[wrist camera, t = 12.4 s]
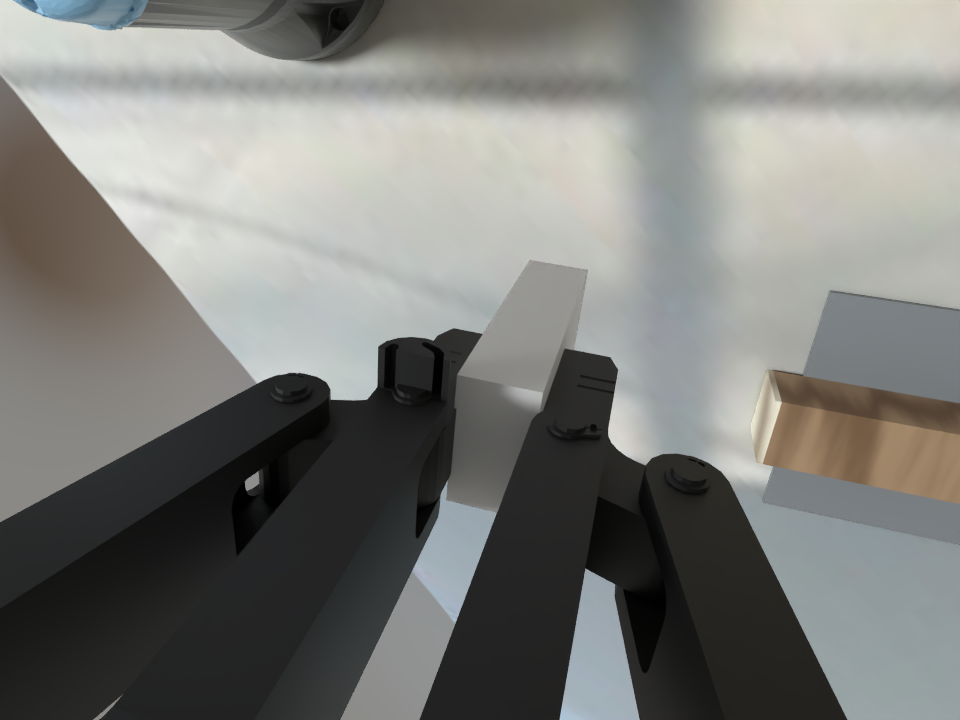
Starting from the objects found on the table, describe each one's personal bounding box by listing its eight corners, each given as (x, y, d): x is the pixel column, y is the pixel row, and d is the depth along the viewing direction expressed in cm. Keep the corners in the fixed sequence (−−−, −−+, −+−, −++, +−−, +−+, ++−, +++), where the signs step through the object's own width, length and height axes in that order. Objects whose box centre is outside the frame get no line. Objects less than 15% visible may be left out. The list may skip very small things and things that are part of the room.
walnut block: (756, 462, 47) (978, 507, 44) (775, 400, 45) (1010, 444, 42) (750, 427, 51) (952, 466, 48) (767, 369, 49) (980, 406, 46)
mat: (762, 499, 54) (763, 502, 54) (829, 290, 46) (831, 292, 46) (1043, 559, 50) (1046, 563, 49) (1171, 341, 42) (1175, 343, 42)
